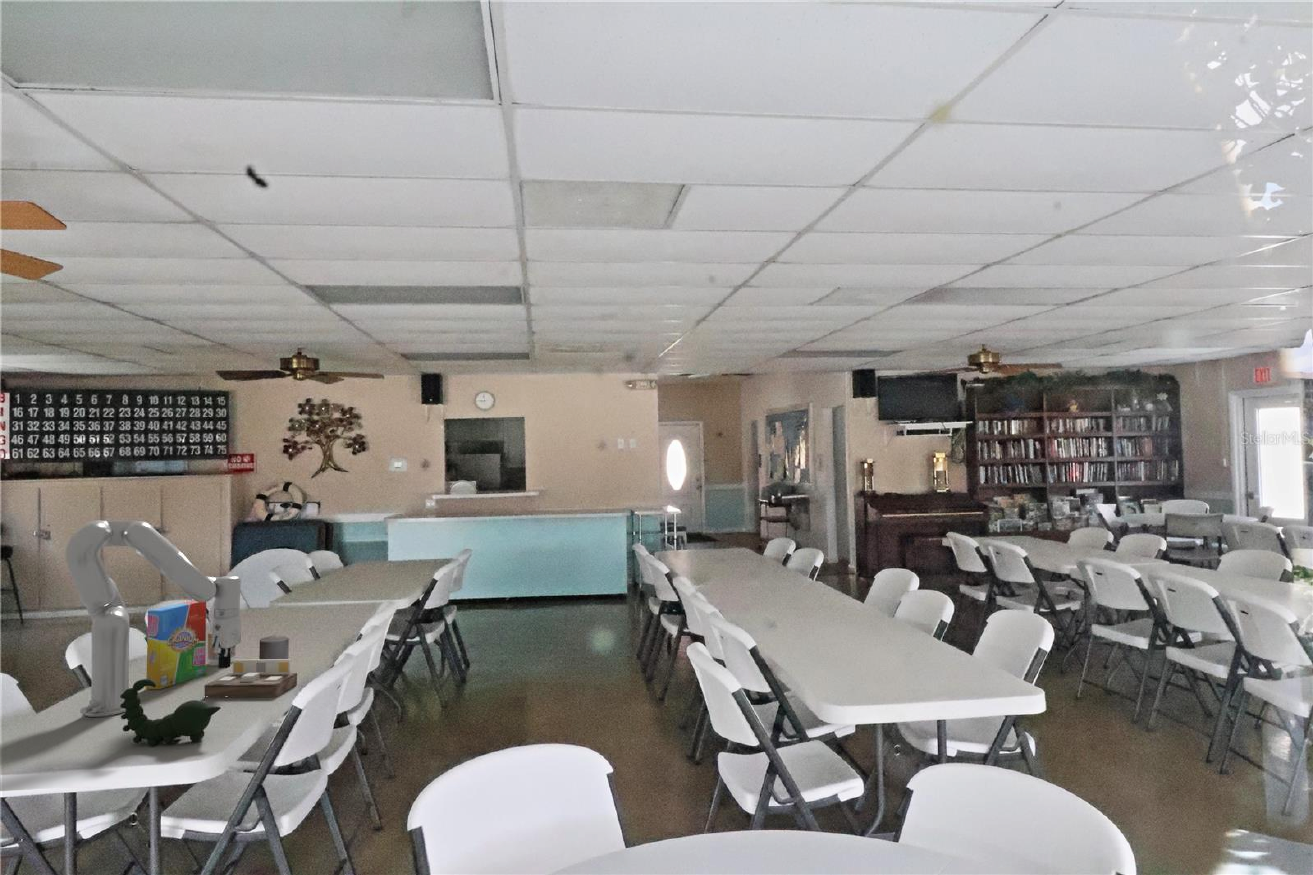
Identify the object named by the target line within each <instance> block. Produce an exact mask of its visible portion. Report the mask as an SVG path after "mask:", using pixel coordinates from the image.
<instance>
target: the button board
mask: <svg viewBox="0 0 1313 875" xmlns="http://www.w3.org/2000/svg"><path fill="white" fill-rule="evenodd" d="M243 675H245V674H238V675H233V673H228V674H226V675H224V676H221V677H220V678H216V679H215V680H213V681H211V682H209V683H206V684H205V685H204V696H205V697H206V696H208V697H209V698H226V697H225V696H228V697H227V698H277V697H279V696H280V695H282V694H283V693H286V692H287V691H289V690H290V689H292V688H293V687H295V686H297V685H298V672H290V674H259V679H258V680H256V681H254V682H241V676H243ZM271 676H283V679H281V680H279V681H277V682H265V679H267V678H269V677H271ZM224 677H236V679H235V680H233V681H231V682H218V680H219V679H221V678H224Z"/></svg>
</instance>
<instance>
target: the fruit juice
mask: <svg viewBox="0 0 1313 875" xmlns="http://www.w3.org/2000/svg"><path fill="white" fill-rule="evenodd" d="M214 608H215V599H214V601H213V603H212V605H211V608H210V609H209V611H208V620H209V623H208V626H207V664H208V665H209V666H218V663H219V657H218V653H214V648H212V630H213V624H214ZM233 660H236V646H235V647H234V648H233V649H232V654H231V663H230V664H233Z"/></svg>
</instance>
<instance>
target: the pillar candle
mask: <svg viewBox="0 0 1313 875" xmlns="http://www.w3.org/2000/svg"><path fill="white" fill-rule="evenodd" d="M289 638H290V636H288V635H271V636H264V637H262V638H260V639H259V652H258V653H259V655H258V656H259V658H258V659H290V658H289V652H290V648H289V646H290V645H289V642H290V639H289Z"/></svg>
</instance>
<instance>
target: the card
mask: <svg viewBox="0 0 1313 875" xmlns="http://www.w3.org/2000/svg"><path fill="white" fill-rule="evenodd" d="M247 673H259V674H290V673H291V658H289V659H259V658H258V659H253V658H252V659H235V660H233V662H232V674H233V675H238V674H247Z"/></svg>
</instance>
